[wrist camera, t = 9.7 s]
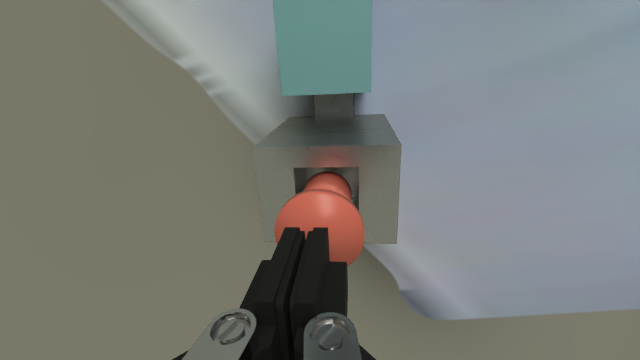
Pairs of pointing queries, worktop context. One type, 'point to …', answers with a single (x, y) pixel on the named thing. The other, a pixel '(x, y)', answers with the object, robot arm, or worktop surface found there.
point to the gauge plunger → (326, 215)
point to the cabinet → (333, 168)
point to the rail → (334, 106)
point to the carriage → (323, 46)
